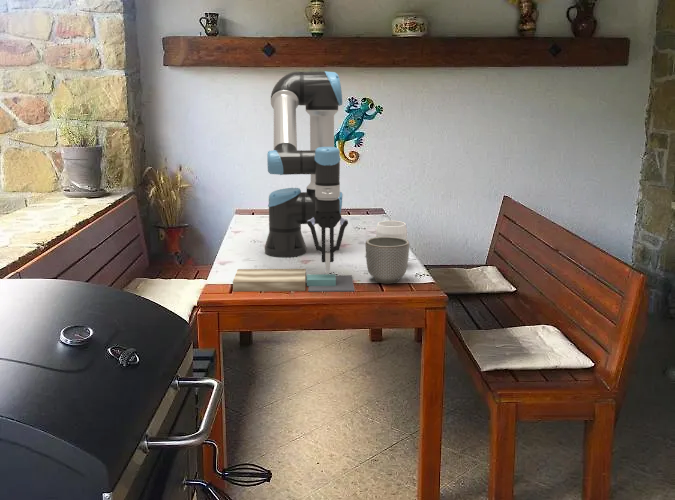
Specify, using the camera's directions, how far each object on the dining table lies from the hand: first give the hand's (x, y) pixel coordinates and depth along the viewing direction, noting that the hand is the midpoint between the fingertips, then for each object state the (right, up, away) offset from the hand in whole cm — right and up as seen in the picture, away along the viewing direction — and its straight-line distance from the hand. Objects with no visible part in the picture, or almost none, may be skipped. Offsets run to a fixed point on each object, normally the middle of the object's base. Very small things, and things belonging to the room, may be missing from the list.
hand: (327, 272), depth 225 cm
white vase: (+21, +1, +21) cm, 30 cm away
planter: (+19, -3, +4) cm, 20 cm away
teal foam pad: (-2, -3, 0) cm, 4 cm away
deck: (-18, -4, 0) cm, 18 cm away
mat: (+1, -4, +1) cm, 4 cm away
